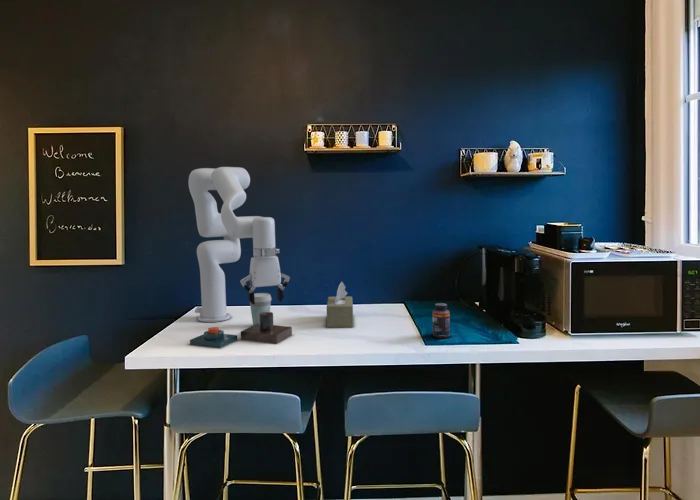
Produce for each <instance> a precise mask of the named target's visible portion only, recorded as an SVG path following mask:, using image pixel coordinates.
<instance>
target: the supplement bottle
mask: <svg viewBox="0 0 700 500" xmlns="http://www.w3.org/2000/svg"><path fill="white" fill-rule="evenodd" d="M450 315H451V314H450V310H449V309H448V304H447V303H443V302H438V303H437V302H436V303H435V304H434V309H433V310H432V336H433V337H434V338H438V339H446V338H448V337H450V335H451V316H450ZM449 333H450V334H449ZM434 334H435V335H434ZM447 334H449V335H447ZM439 335H446V336H439Z"/></svg>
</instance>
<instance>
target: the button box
mask: <svg viewBox="0 0 700 500" xmlns="http://www.w3.org/2000/svg"><path fill="white" fill-rule="evenodd" d="M236 341H238V335H237V334H229V333H225V331H224V330H222V329H219V333H217V334H208V330H205V331H204V332H203V333H202V334H201V335H198V336H196V337H194V338H191V339H189V345H190V346H197V347H205V348H206V347H207V348H215V349H222V348H223V347H227V346H228V345H231V344H232V343H234V342H236Z"/></svg>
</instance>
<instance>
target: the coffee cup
mask: <svg viewBox="0 0 700 500" xmlns="http://www.w3.org/2000/svg"><path fill="white" fill-rule="evenodd" d="M254 298H255V304H253V305H252V304H251V302H249V306H250V313H251V319H252V326H254V325H256V324H259V313H262V312H271V305H272V304H271V303H272V300H273V298H272V296H271V294H270V293H268V292H257V293H254Z"/></svg>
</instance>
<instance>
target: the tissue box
mask: <svg viewBox="0 0 700 500" xmlns="http://www.w3.org/2000/svg"><path fill="white" fill-rule="evenodd" d="M346 288H347V287H346V285H345V284H344V282H343V281H340V283H339V285H338V287H337V290H336V295H335V296H328V297H327V302H326V328H353V327H354V304H353V296H351V295H349V296H347V295H348V292H347V290H346Z"/></svg>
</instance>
